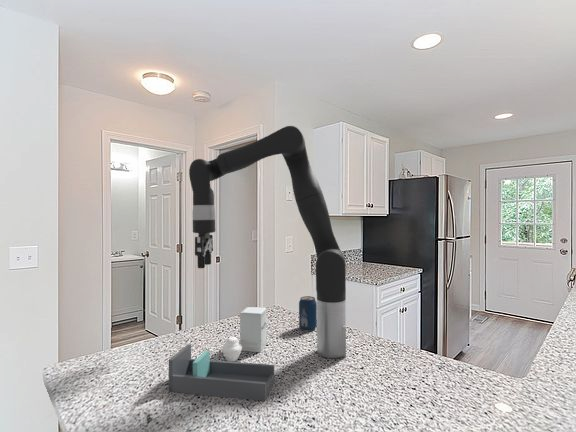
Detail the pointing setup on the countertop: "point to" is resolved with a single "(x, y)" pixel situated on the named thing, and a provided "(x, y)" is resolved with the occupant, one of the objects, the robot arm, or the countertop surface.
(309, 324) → the soda can
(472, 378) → the countertop surface
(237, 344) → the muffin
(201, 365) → the teal flat slab
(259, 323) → the supplement box
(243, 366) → the pusher lane
